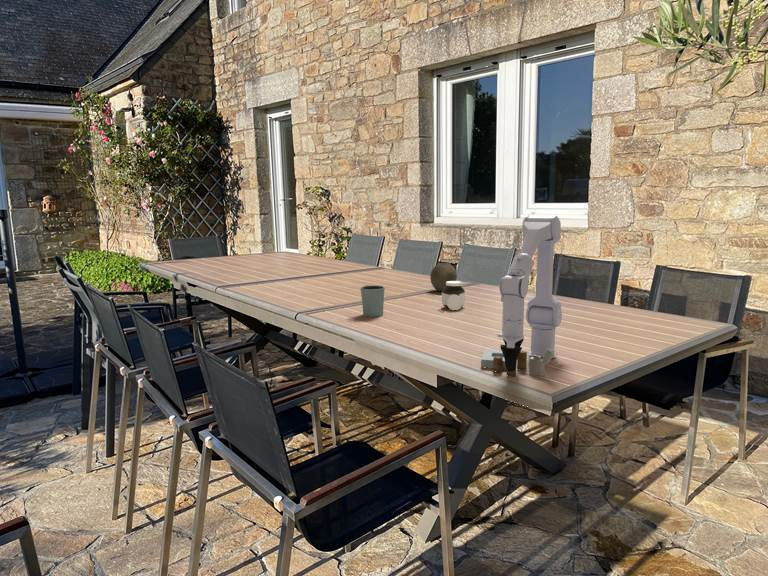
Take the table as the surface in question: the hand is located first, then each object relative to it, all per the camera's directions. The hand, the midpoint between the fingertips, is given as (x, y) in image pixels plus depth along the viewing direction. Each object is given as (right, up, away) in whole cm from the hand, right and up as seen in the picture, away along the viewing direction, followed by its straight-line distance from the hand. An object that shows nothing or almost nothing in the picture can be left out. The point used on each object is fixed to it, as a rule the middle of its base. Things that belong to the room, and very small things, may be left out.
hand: (511, 366), depth 158 cm
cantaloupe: (-4, +20, +142) cm, 144 cm away
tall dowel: (0, -2, 0) cm, 2 cm away
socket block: (-1, -1, +12) cm, 12 cm away
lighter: (+8, -3, +1) cm, 9 cm away
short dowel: (-3, -2, +4) cm, 6 cm away
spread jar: (-4, +13, +96) cm, 97 cm away
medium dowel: (+4, -1, +6) cm, 8 cm away
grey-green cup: (-40, +10, +83) cm, 93 cm away
